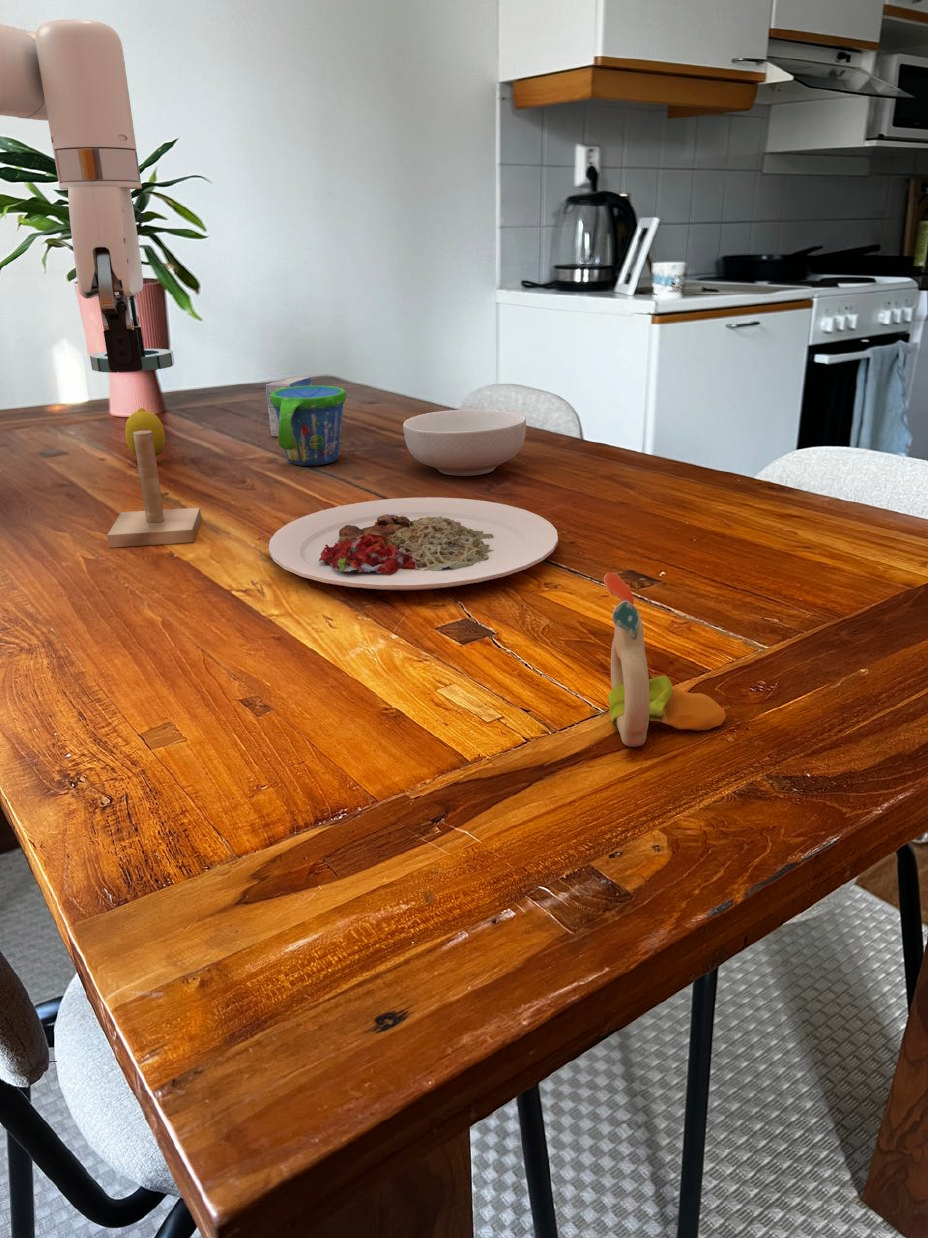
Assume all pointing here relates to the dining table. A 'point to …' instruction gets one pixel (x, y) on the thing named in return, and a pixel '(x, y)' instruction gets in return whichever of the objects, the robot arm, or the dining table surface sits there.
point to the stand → (152, 508)
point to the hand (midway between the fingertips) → (128, 367)
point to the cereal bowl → (465, 439)
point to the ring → (150, 360)
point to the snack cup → (309, 423)
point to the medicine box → (276, 386)
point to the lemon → (145, 429)
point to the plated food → (413, 543)
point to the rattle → (647, 681)
